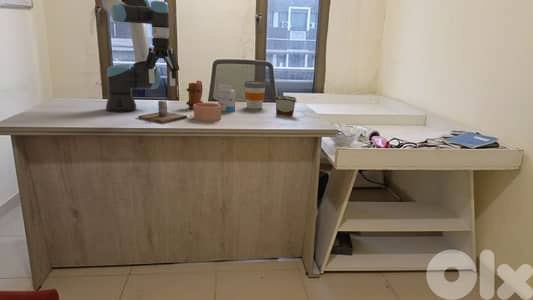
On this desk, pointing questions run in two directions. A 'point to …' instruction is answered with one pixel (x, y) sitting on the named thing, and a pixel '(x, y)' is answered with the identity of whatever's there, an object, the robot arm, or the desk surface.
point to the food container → (285, 105)
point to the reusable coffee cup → (254, 94)
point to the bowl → (207, 111)
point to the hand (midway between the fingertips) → (162, 84)
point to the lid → (162, 114)
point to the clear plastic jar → (226, 98)
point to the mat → (162, 123)
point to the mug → (194, 94)
